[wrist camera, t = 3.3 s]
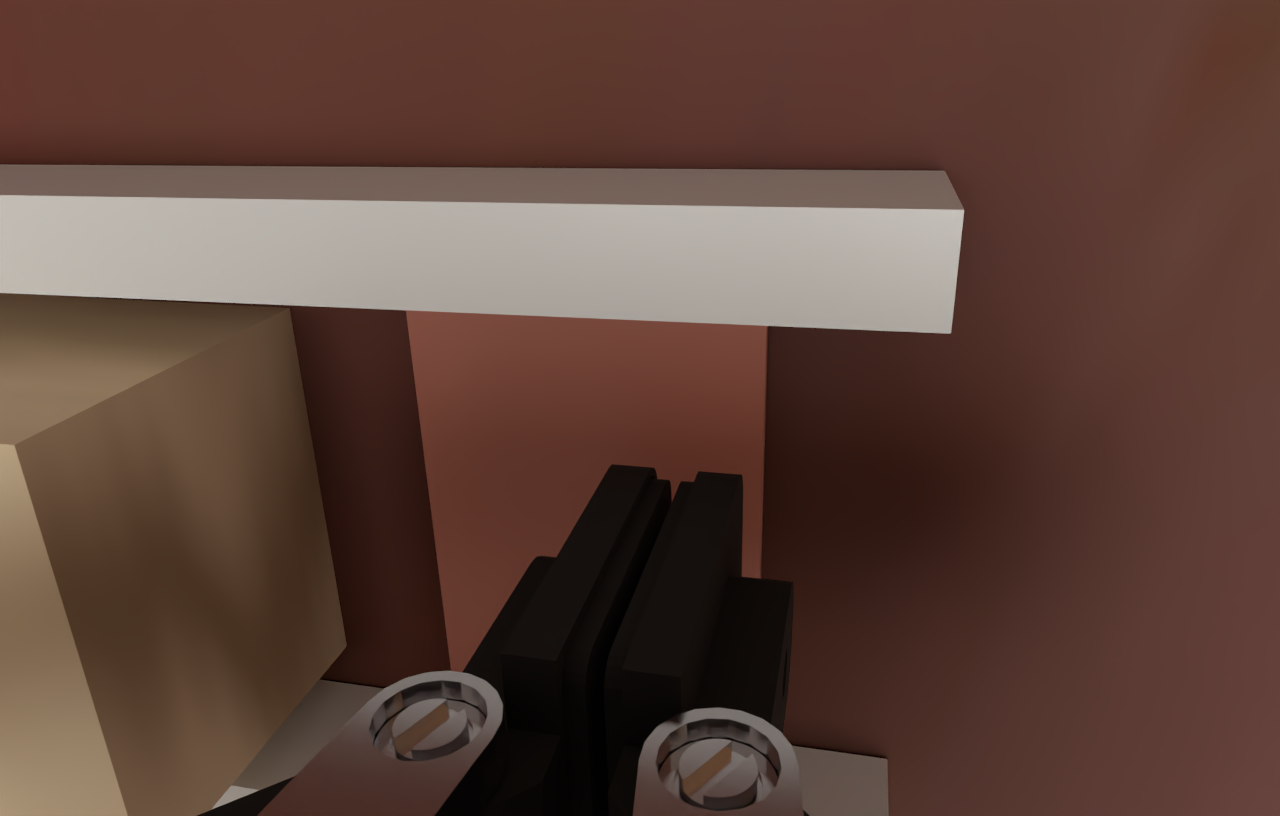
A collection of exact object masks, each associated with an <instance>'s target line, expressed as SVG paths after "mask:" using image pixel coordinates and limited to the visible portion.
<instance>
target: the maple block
mask: <svg viewBox="0 0 1280 816" xmlns="http://www.w3.org/2000/svg"><path fill="white" fill-rule="evenodd" d="M346 647H347V643H346V637H345V631H344V626H343V620H342V614H341V608H340V602H339V596H338V590H337V584H336V578H335V573H334V567H333V561H332V555H331V549H330V543H329V537H328V531H327V526H326V520H325V514H324V508H323V502H322V496H321V490H320V484H319V479H318V473H317V467H316V461H315V455H314V449H313V443H312V437H311V432H310V426H309V420H308V414H307V408H306V402H305V396H304V390H303V384H302V379H301V373H300V367H299V361H298V355H297V349H296V343H295V337H294V332H293V326H292V320H291V314H290V308H281V307H261V306H240V305H220V304H200V303H180V302H159V301H139V300H119V299H98V298H78V297H58V296H38V295H17V294H0V816H197V815H199V814H202V813H204V812H207V811H209V810H211V809H212V808H213V807H214V805H215V804H216V803H217V802H218V801H219V799H220V798H221V797H222V796H223V795H224V793H225V792H226V791H227V790H228V789H229V787H230V786H231V785H232V784H233V783H234V781H235V780H236V779H237V778H238V777H239V775H240V774H241V773H242V772H243V771H244V769H245V768H246V767H247V766H248V765H249V763H250V762H251V761H252V760H253V759H254V757H255V756H256V755H257V754H258V753H259V751H260V750H261V749H262V748H263V746H264V745H265V744H266V743H267V742H268V740H269V739H270V738H271V737H272V736H273V734H274V733H275V732H276V731H277V730H278V728H279V727H280V726H281V725H282V724H283V722H284V721H285V720H286V719H287V718H288V716H289V715H290V714H291V713H292V712H293V710H294V709H295V708H296V707H297V706H298V704H299V703H300V702H301V701H302V700H303V698H304V697H305V696H306V695H307V694H308V692H309V691H310V690H311V689H312V688H313V686H314V685H315V684H316V683H317V682H318V680H319V679H320V678H321V677H322V676H323V674H324V673H325V672H326V671H327V670H328V668H329V667H330V666H331V665H332V664H333V662H334V661H335V660H336V659H337V658H338V656H339V655H340V654H341V653H342V651H343V650H344V649H345V648H346Z"/></svg>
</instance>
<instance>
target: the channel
mask: <svg viewBox="0 0 1280 816" xmlns="http://www.w3.org/2000/svg"><path fill="white" fill-rule="evenodd" d="M963 217H964V208H963V206H962V204H961V202H960V200H959V198H958V196H957V194H956V192H955V190H954V188H953V186H952V184H951V182H950V180H949V178H948V176H947V174H946V172H945V171H927V170H774V169H622V168H469V167H316V166H163V165H10V164H0V293H15V294H38V295H61V296H84V297H108V298H131V299H154V300H178V301H201V302H224V303H247V304H271V305H294V306H317V307H341V308H364V309H387V310H406V316H407V324H408V332H409V339H410V347H411V355H412V363H413V371H414V379H415V387H416V395H417V403H418V411H419V419H420V427H421V435H422V443H423V451H424V459H425V467H426V475H427V483H428V491H429V499H430V507H431V515H432V522H433V530H434V538H435V546H436V554H437V562H438V570H439V578H440V586H441V594H442V602H443V610H444V618H445V626H446V634H447V642H448V650H449V658H450V666H451V671H455V672H463V670H464V669H465V667H466V665H467V664H468V662H469V661H470V659H471V657H472V656H473V654H474V653H475V651H476V649H477V648H478V646H479V645H480V643H481V641H482V640H483V638H484V637H485V635H486V634H487V632H488V630H489V629H490V627H491V626H492V624H493V622H494V621H495V619H496V618H497V616H498V614H499V613H500V611H501V610H502V608H503V606H504V605H505V603H506V602H507V600H508V598H509V597H510V595H511V594H512V592H513V591H514V589H515V587H516V586H517V584H518V583H519V581H520V579H521V578H522V576H523V575H524V573H525V571H526V570H527V568H528V567H529V565H530V563H531V562H532V561H533V560H534V559H535V558H536V557H538V556H550V557H557V555H558V553H559V552H560V550H561V548H562V547H563V545H564V543H565V542H566V540H567V538H568V536H569V535H570V533H571V531H572V530H573V528H574V526H575V525H576V523H577V521H578V519H579V518H580V516H581V514H582V513H583V511H584V509H585V508H586V506H587V504H588V502H589V501H590V499H591V497H592V496H593V494H594V492H595V491H596V489H597V487H598V485H599V484H600V482H601V480H602V479H603V477H604V475H605V473H606V472H607V470H608V468H609V467H610V466H611V465H612V464H614V465H627V466H639V467H652V468H655V470H656V474H657V479H664V480H669V481H670V483H671V494H672V501H673V498H674V496H675V494H676V491H677V489H678V486H679V484H680V482H681V481H688V482H694V480H695V478H696V475H697V473H698V471H702V472H714V473H727V474H739V475H742V477H743V532H742V577H751V578H760V579H761V561H762V526H763V491H764V456H765V420H766V385H767V350H768V326H783V327H806V328H830V329H853V330H876V331H899V332H923V333H946V334H951V329H952V320H953V310H954V301H955V292H956V282H957V273H958V264H959V254H960V245H961V236H962V226H963ZM382 690H383V688H376V687H369V686H362V685H355V684H348V683H341V682H333V681H326V680H318V682H317V683H316V684H315V685H314V686H313V688H312V689H311V690H310V691H309V692H308V694H307V695H306V696H305V697H304V698H303V700H302V701H301V702H300V703H299V704H298V706H297V707H296V708H295V709H294V710H293V712H292V713H291V714H290V715H289V716H288V718H287V719H286V720H285V721H284V722H283V724H282V725H281V726H280V727H279V728H278V730H277V731H276V732H275V733H274V734H273V736H272V737H271V738H270V739H269V740H268V742H267V743H266V744H265V745H264V746H263V748H262V749H261V750H260V751H259V753H258V754H257V755H256V756H255V757H254V759H253V760H252V761H251V762H250V763H249V765H248V766H247V767H246V768H245V769H244V771H243V772H242V773H241V774H240V775H239V777H238V778H237V779H236V780H235V781H234V783H233V784H232V785H231V786H230V787H229V789H228V790H227V791H226V792H225V793H224V795H223V796H222V797H221V798H220V799H219V801H218V802H217V803H216V804H215V805H214V807H213V808H212V809H214V808H217V807H219V806H222V805H224V804H227V803H229V802H232V801H234V800H237V799H239V798H242V797H244V796H247V795H249V794H251V793H254V792H256V791H259V790H261V789H264V788H266V787H269V786H271V785H274V784H276V783H279V782H281V781H284V780H286V779H289V778H291V777H294V776H296V775H297V774H298V773H299V772H300V771H301V770H302V769H303V768H304V767H305V766H306V765H307V764H308V763H309V762H310V761H311V760H312V759H313V757H314V756H315V755H316V754H317V753H318V752H319V751H320V750H321V749H322V748H323V747H324V746H325V745H326V744H327V743H328V742H329V741H330V740H331V739H332V738H333V737H334V736H335V735H336V734H337V733H338V732H339V731H340V730H341V729H342V728H343V727H344V726H345V725H346V724H347V723H348V722H349V720H350V719H351V718H352V717H353V716H354V715H355V714H356V713H357V712H358V711H359V710H360V709H361V708H362V707H363V706H364V705H365V704H366V703H367V702H368V701H369V700H370V699H372V698H373V697H374V696H375V695H377V694H378V693H379V692H380V691H382ZM793 749H794V752H795V755H796V758H797V762H798V765H799V774H800V784H801V794H802V803H803V810H804V811H805V812H806V813H807V814H808V815H809V816H889V807H888V762H887V759H884V758H877V757H870V756H862V755H855V754H848V753H841V752H834V751H827V750H820V749H812V748H805V747H798V746H793ZM212 809H211V810H212Z"/></svg>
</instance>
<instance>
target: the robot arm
mask: <svg viewBox="0 0 1280 816" xmlns="http://www.w3.org/2000/svg"><path fill="white" fill-rule="evenodd" d="M742 532H743V477H742V475H739V474H727V473H714V472H702V471H698V473H697V475H696V478H695V480H694V482H688V481H681V482H680V484H679V486H678V489H677V491H676V494H675V496H674V498H673V501H672V494H671V483H670V481H669V480H664V479H657V474H656V470H655V468H652V467H639V466H627V465H614V464H612V465H611V466H610V467H609V468H608V470H607V472H606V473H605V475H604V477H603V479H602V480H601V482H600V484H599V485H598V487H597V489H596V491H595V492H594V494H593V496H592V497H591V499H590V501H589V502H588V504H587V506H586V508H585V509H584V511H583V513H582V514H581V516H580V518H579V519H578V521H577V523H576V525H575V526H574V528H573V530H572V531H571V533H570V535H569V536H568V538H567V540H566V542H565V543H564V545H563V547H562V548H561V550H560V552H559V553H558V555H557V557H550V556H538V557H536V558H535V559H534V560H533V561H532V562H531V563H530V565H529V567H528V568H527V570H526V571H525V573H524V575H523V576H522V578H521V579H520V581H519V583H518V584H517V586H516V587H515V589H514V591H513V592H512V594H511V595H510V597H509V598H508V600H507V602H506V603H505V605H504V606H503V608H502V610H501V611H500V613H499V614H498V616H497V618H496V619H495V621H494V622H493V624H492V626H491V627H490V629H489V630H488V632H487V634H486V635H485V637H484V638H483V640H482V641H481V643H480V645H479V646H478V648H477V649H476V651H475V653H474V654H473V656H472V657H471V659H470V661H469V662H468V664H467V665H466V667H465V669H464V670H463V672H455V671H437V672H426V673H422V674H419V675H415V676H411V677H408V678H404V679H402V680H400V681H398V682H396V683H394V684H392V685H390V686H388V687H386V688H384V689H383V690H382V691H380V692H379V693H378V694H377V695H375V696H374V697H373V698H372V699H370V700H369V701H368V702H367V703H366V704H365V705H364V706H363V707H362V708H361V709H360V710H359V711H358V712H357V713H356V714H355V715H354V716H353V717H352V718H351V719H350V720H349V722H348V723H347V724H346V725H345V726H344V727H343V728H342V729H341V730H340V731H339V732H338V733H337V734H336V735H335V736H334V737H333V738H332V739H331V740H330V741H329V742H328V743H327V744H326V745H325V746H324V747H323V748H322V749H321V750H320V751H319V752H318V753H317V754H316V755H315V756H314V757H313V759H312V760H311V761H310V762H309V763H308V764H307V765H306V766H305V767H304V768H303V769H302V770H301V771H300V772H299V773H298V774H297V775H296V776H294V777H291V778H289V779H286V780H284V781H281V782H279V783H276V784H274V785H271V786H269V787H266V788H264V789H261V790H259V791H256V792H254V793H251V794H249V795H247V796H244V797H242V798H239V799H237V800H234V801H232V802H229V803H227V804H224V805H222V806H219V807H217V808H214V809H212V810H209V811H207V812H204V813H202V814H199V815H197V816H809V815H808V814H807V813H806V812H805V811H804V810H803V803H802V794H801V784H800V774H799V765H798V762H797V758H796V755H795V752H794V749H793V746H792V745H791V744H790V743H789V741H788V740H787V739H786V738H785V736H784V735H783V734H782V733H783V725H784V718H785V710H786V701H787V692H788V682H789V670H790V656H791V640H792V618H793V582H789V581H779V580H770V579H760V578H751V577H742Z"/></svg>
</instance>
